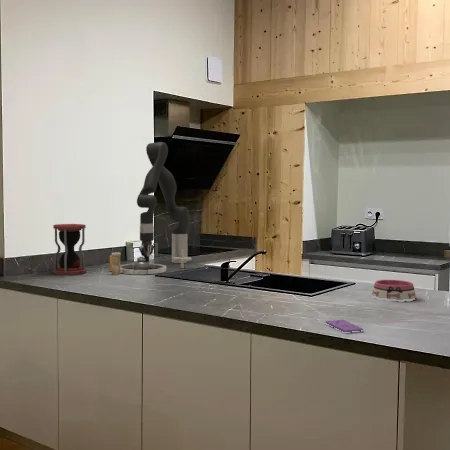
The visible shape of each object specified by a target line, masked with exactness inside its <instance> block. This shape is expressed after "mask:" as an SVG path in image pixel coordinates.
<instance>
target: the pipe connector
mask: <svg viewBox="0 0 450 450" xmlns="http://www.w3.org/2000/svg"><path fill="white" fill-rule="evenodd" d="M173 261H180V262H181V263H180V269H184V268H185V263H184V261H187V262H191V261H192V257H189V256H187V257H184V250H181V257H173Z"/></svg>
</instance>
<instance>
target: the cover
mask: <svg viewBox="0 0 450 450" xmlns="http://www.w3.org/2000/svg"><path fill="white" fill-rule="evenodd" d="M133 264H134V268H133V270H150V268H149V264H150V261H149V262H148V261H146V258H144V256H139V257H137V258H136V261H133Z"/></svg>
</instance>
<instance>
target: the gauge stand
mask: <svg viewBox="0 0 450 450" xmlns="http://www.w3.org/2000/svg"><path fill="white" fill-rule="evenodd" d="M121 254H122V253H121V252H111V255H112V271H111V275H113V276H119V275H121V273H120V265H121Z"/></svg>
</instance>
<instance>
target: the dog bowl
mask: <svg viewBox="0 0 450 450" xmlns="http://www.w3.org/2000/svg"><path fill="white" fill-rule="evenodd" d="M371 294H372V295H373V296H376V297H379V298H387V299H396V300H403V299H413V298H416V299H417V294H416V290H415V286H414V284H413V282H411V281H406V280H399V279H380V280H376V281H374V284H373V288H372V292H371Z"/></svg>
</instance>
